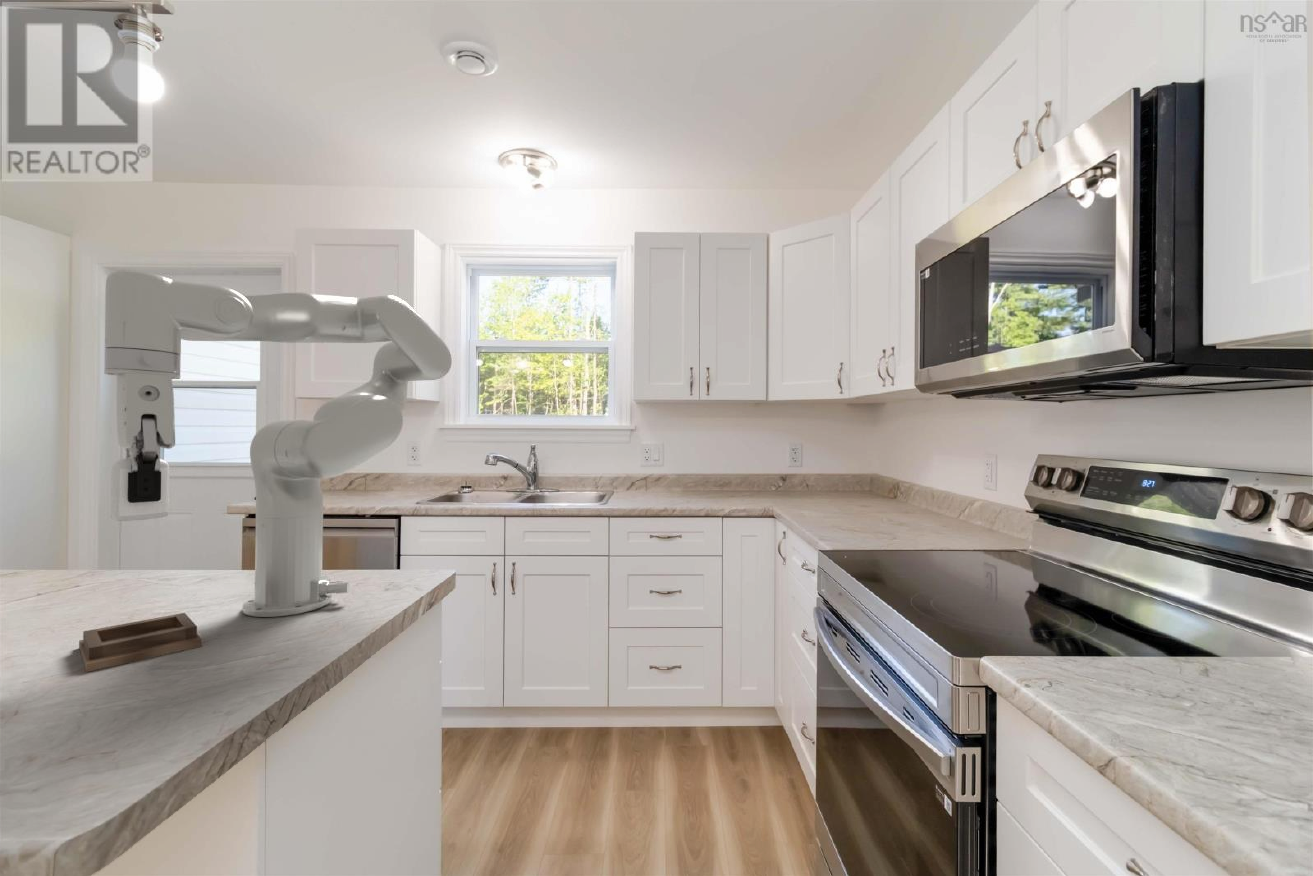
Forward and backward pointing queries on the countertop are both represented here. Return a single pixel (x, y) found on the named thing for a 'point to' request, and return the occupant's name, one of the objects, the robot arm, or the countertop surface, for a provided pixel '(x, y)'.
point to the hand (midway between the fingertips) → (141, 498)
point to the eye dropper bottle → (140, 510)
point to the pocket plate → (137, 641)
